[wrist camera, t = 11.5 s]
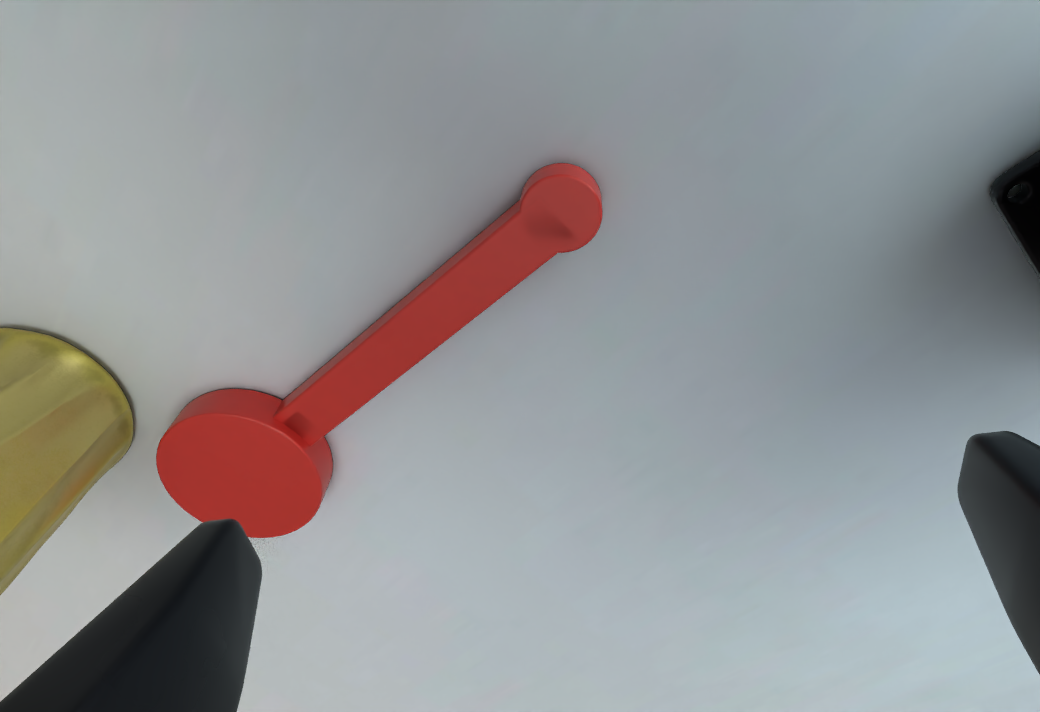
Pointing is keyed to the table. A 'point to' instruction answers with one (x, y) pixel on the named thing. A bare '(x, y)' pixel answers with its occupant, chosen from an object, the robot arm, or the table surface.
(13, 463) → the vase
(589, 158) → the table surface
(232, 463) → the spoon
